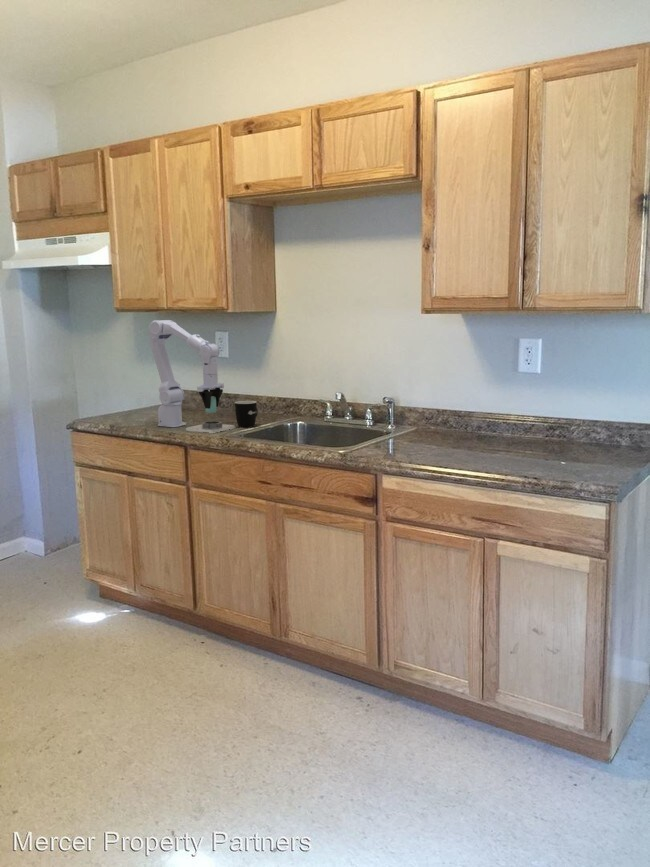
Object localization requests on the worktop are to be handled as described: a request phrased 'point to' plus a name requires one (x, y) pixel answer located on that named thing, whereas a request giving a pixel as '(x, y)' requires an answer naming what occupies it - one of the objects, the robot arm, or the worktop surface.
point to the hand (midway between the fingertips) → (211, 407)
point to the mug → (246, 413)
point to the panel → (210, 427)
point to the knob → (212, 405)
